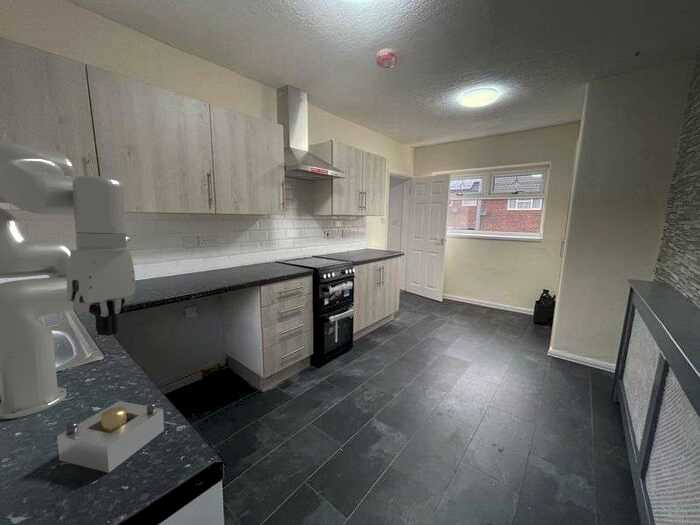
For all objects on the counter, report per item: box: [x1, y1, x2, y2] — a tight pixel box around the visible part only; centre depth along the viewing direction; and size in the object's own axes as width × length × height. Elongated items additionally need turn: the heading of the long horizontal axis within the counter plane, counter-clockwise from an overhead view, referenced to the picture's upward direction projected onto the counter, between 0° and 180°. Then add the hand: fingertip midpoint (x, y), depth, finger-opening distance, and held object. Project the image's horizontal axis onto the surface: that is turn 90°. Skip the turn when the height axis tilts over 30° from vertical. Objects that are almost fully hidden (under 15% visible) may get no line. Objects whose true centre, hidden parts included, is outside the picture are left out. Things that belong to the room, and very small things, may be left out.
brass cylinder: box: [101, 406, 127, 433], centre depth 60 cm, size 4×4×7 cm
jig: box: [56, 400, 165, 474], centre depth 60 cm, size 12×12×7 cm
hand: (107, 333), depth 59 cm, fingers closed
